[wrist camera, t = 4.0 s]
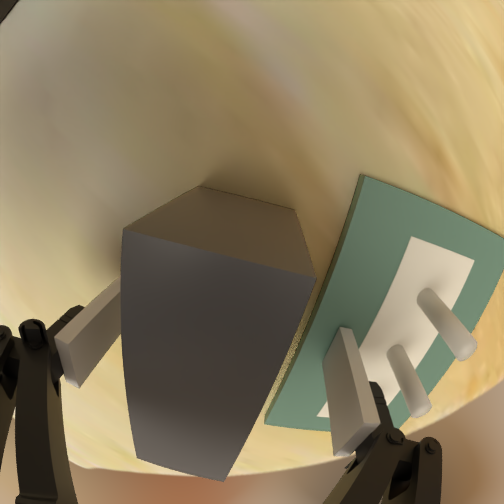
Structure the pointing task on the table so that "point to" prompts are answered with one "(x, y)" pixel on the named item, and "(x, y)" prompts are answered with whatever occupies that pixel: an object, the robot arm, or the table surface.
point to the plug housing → (207, 323)
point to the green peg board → (394, 303)
